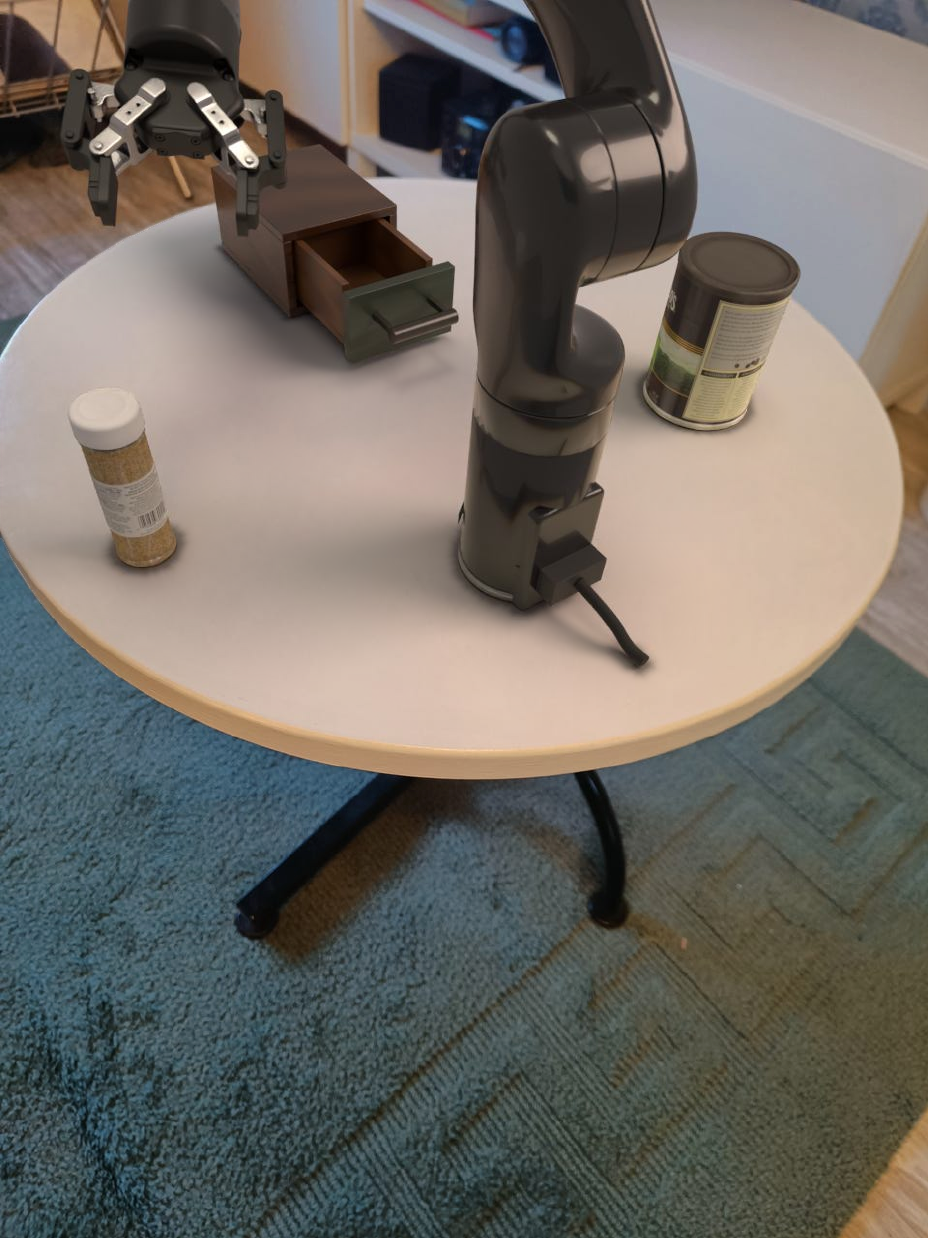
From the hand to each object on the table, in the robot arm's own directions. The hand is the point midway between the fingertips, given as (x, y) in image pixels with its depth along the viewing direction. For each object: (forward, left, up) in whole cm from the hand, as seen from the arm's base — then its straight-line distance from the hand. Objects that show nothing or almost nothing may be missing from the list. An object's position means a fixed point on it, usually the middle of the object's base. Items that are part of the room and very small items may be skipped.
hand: (175, 223), depth 57 cm
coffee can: (-13, -43, -22) cm, 50 cm away
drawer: (+12, -22, -20) cm, 32 cm away
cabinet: (+26, -22, -21) cm, 40 cm away
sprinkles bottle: (-5, +9, -22) cm, 24 cm away
